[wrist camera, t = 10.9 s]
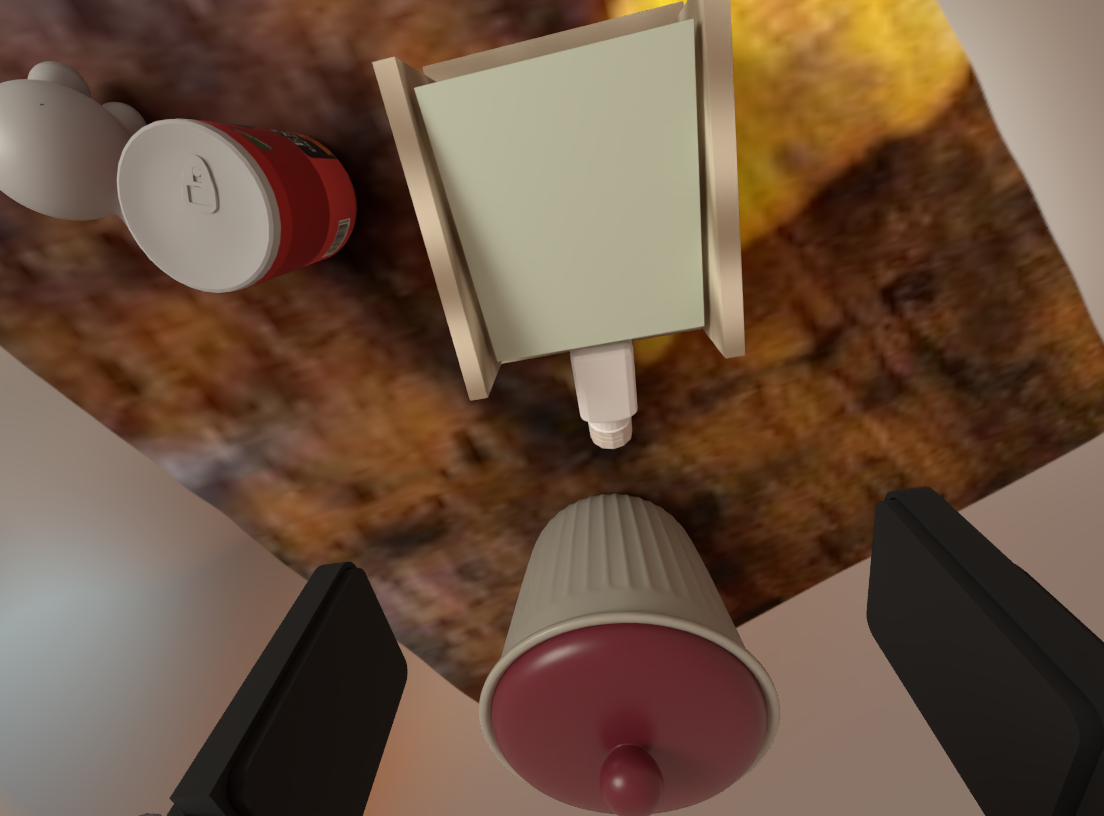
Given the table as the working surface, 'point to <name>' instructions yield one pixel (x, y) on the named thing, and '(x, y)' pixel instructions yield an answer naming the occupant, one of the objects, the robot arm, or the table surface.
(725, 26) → the stand
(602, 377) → the pepper shaker
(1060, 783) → the robot arm
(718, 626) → the canister
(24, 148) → the chubby cartoon animal
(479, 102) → the trapdoor
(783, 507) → the table surface
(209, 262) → the canned food
